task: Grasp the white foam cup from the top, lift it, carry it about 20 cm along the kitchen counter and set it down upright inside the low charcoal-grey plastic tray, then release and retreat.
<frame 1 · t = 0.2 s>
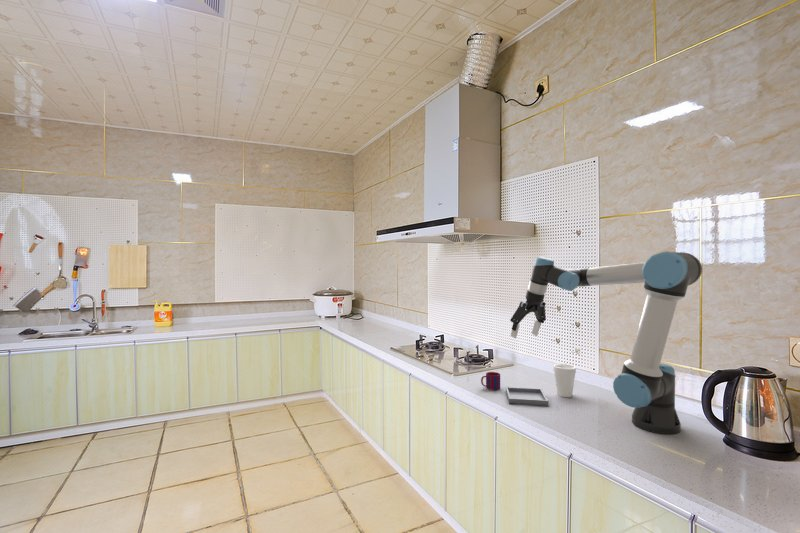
hand: (524, 335, 176), 27 cm above the worktop, tool tilted 20°, fingers open, 13 cm apart
foam cup: (564, 395, 178), on the worktop
tray: (525, 398, 173), on the worktop
cup: (490, 388, 188), on the worktop
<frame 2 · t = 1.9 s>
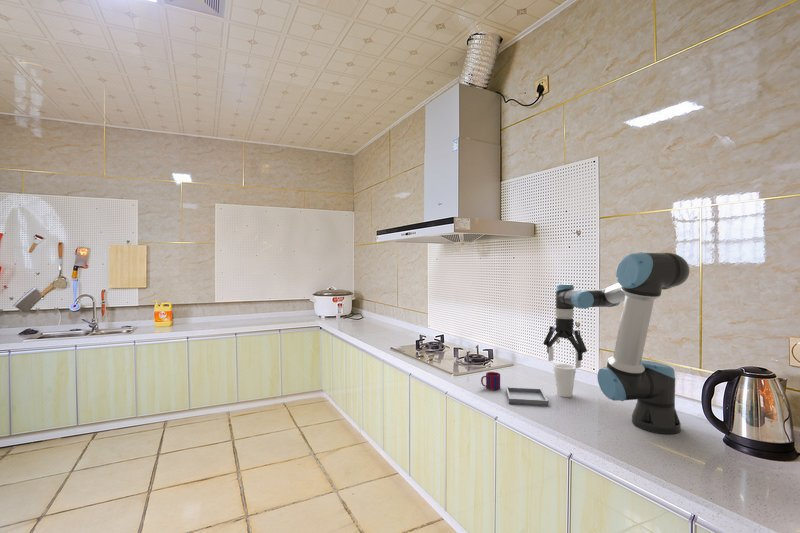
hand: (564, 364, 178), 14 cm above the worktop, tool pointing down, fingers open, 13 cm apart
nothing on the worktop moved.
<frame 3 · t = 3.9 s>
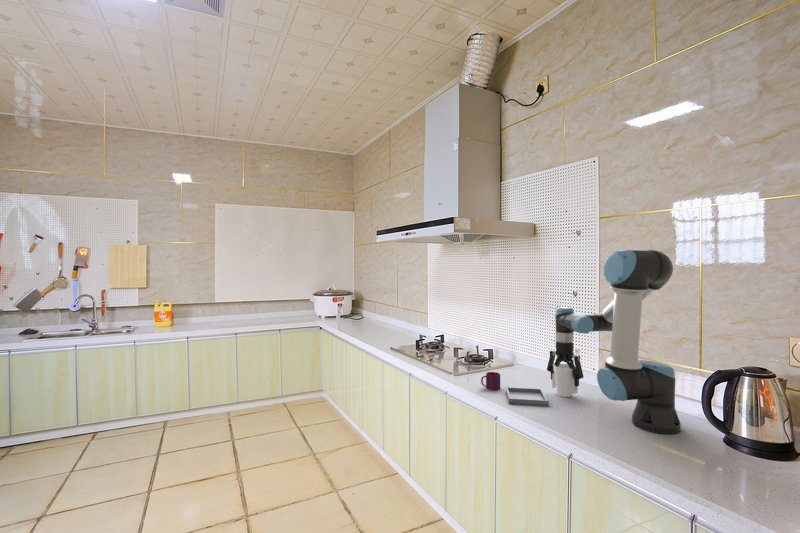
hand: (564, 390, 178), 2 cm above the worktop, tool pointing down, fingers closed on foam cup, 9 cm apart
foam cup: (564, 395, 178), on the worktop, touching gripper
everything else where it was.
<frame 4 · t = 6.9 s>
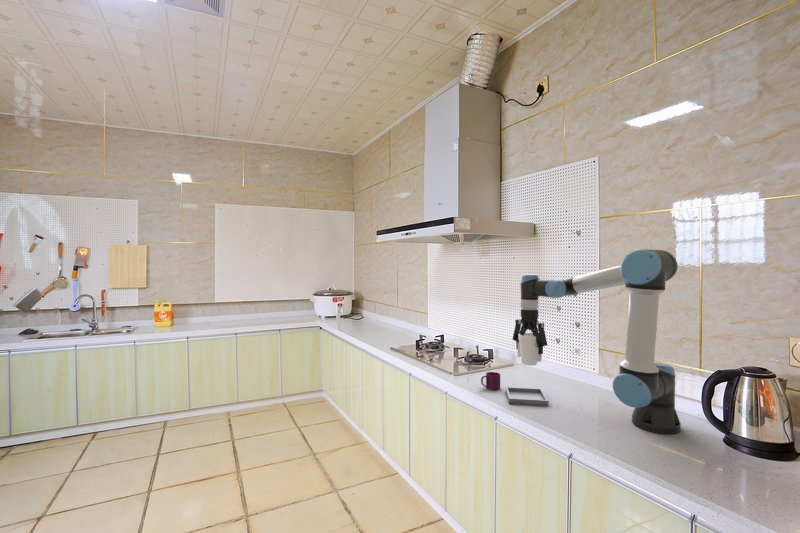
hand: (529, 358, 174), 17 cm above the worktop, tool pointing down, fingers closed on foam cup, 9 cm apart
foam cup: (529, 364, 174), point 15 cm above the worktop, touching gripper
everything else where it was.
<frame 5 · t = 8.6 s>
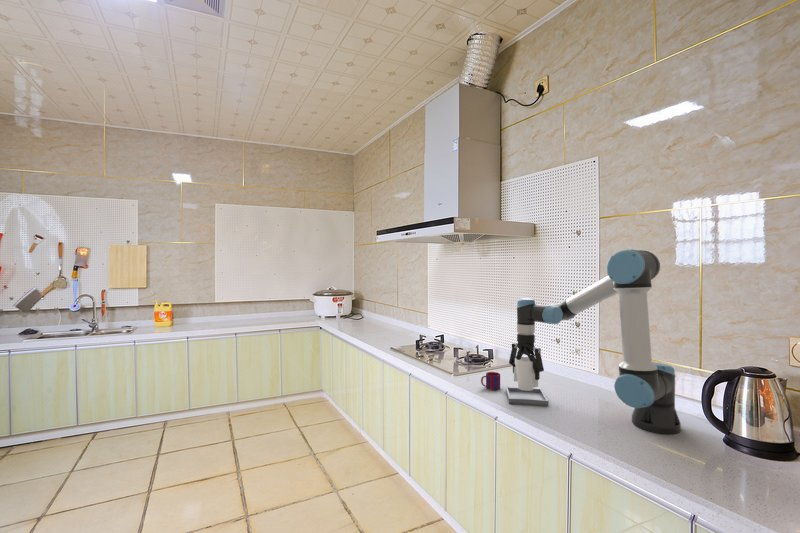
hand: (525, 383, 173), 7 cm above the worktop, tool pointing down, fingers closed on foam cup, 9 cm apart
foam cup: (525, 388, 173), point 4 cm above the worktop, touching gripper
everything else where it was.
when the fingers open (4 cm above the worktop, at t = 10.0 s): foam cup drops 1 cm, resting on tray.
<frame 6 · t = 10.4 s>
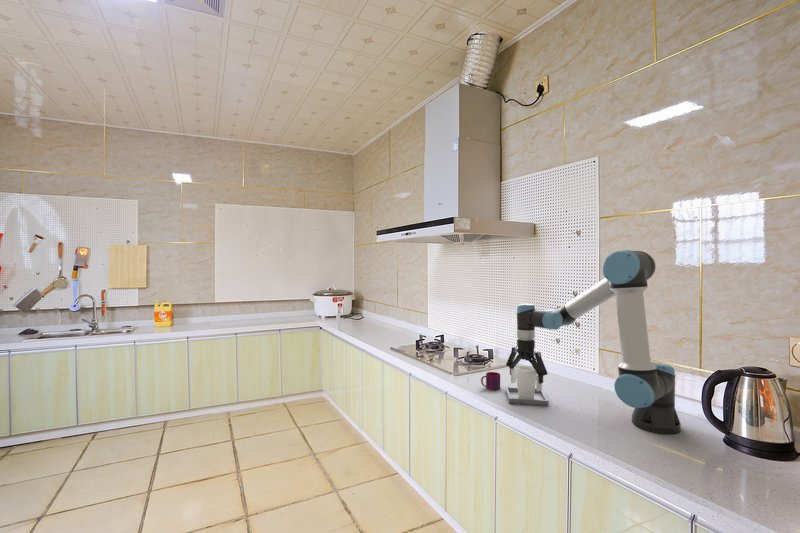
hand: (525, 386, 173), 5 cm above the worktop, tool pointing down, fingers open, 13 cm apart
foam cup: (526, 397, 173), resting on tray
everything else where it was.
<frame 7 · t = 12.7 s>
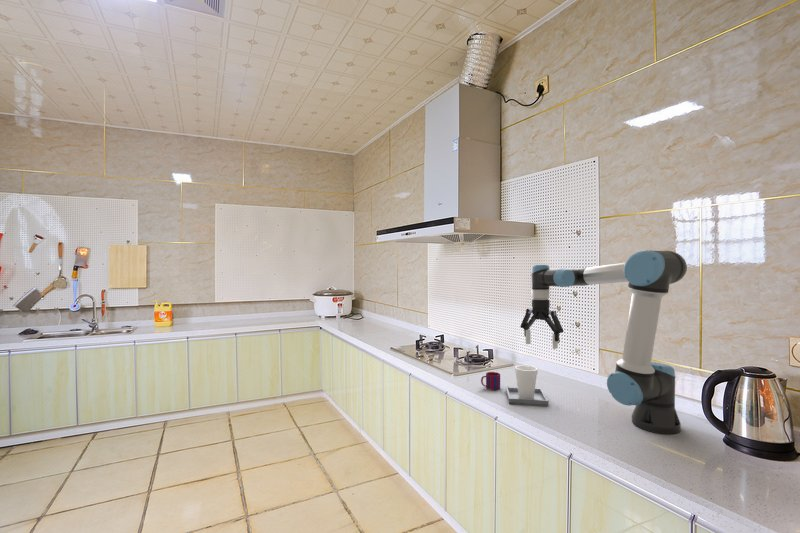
hand: (541, 346, 175), 23 cm above the worktop, tool pointing down, fingers open, 13 cm apart
nothing on the worktop moved.
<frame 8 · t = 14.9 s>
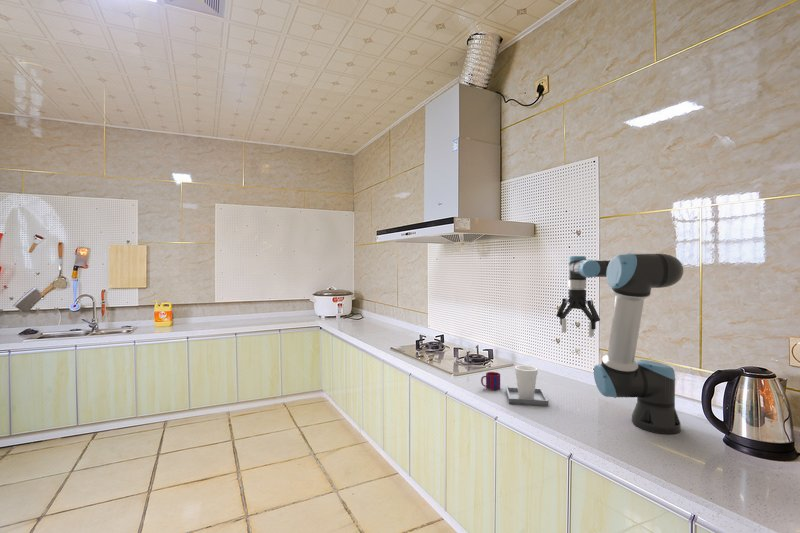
hand: (577, 334, 182), 27 cm above the worktop, tool pointing down, fingers open, 13 cm apart
nothing on the worktop moved.
at the end: foam cup inside the target area on the tray (0.1 cm from its centre), point 0.4 cm above the tray's base; foam cup tilted 0°; the gripper is holding nothing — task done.
